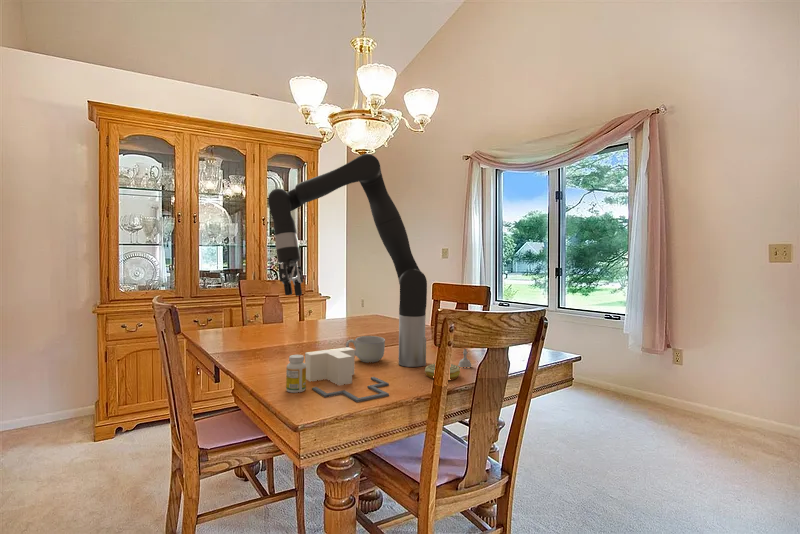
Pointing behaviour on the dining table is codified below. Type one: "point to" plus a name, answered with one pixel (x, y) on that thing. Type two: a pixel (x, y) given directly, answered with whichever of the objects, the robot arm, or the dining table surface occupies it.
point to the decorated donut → (453, 371)
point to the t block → (331, 365)
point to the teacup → (368, 348)
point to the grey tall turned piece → (465, 360)
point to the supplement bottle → (296, 374)
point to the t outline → (356, 399)
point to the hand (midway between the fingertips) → (294, 295)
